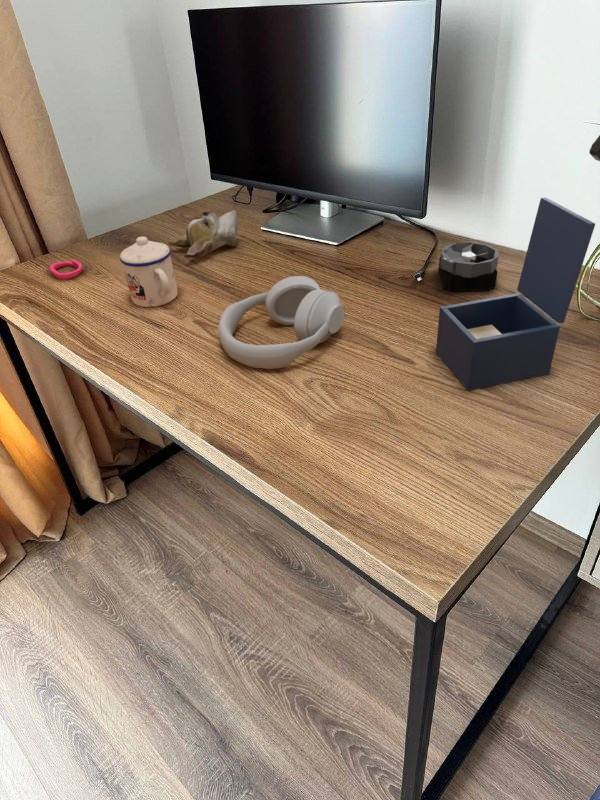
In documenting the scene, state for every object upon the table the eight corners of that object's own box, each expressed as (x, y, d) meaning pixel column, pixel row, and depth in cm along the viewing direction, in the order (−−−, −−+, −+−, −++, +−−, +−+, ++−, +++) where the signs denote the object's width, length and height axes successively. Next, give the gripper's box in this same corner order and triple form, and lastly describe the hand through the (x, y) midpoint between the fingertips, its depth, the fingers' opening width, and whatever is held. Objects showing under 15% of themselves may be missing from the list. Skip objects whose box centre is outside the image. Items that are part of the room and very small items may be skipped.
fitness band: (89, 273, 122) (87, 266, 121) (62, 282, 119) (60, 275, 118) (72, 262, 127) (70, 256, 126) (46, 271, 124) (44, 264, 123)
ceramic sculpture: (245, 208, 121) (178, 230, 116) (252, 248, 127) (188, 270, 121) (223, 196, 129) (160, 216, 124) (231, 234, 134) (170, 254, 129)
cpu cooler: (493, 239, 109) (505, 262, 100) (489, 268, 112) (500, 292, 104) (436, 241, 109) (443, 264, 101) (434, 270, 113) (441, 294, 105)
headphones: (303, 296, 106) (207, 346, 99) (295, 257, 101) (193, 307, 94) (367, 337, 93) (261, 397, 87) (361, 294, 88) (249, 355, 82)
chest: (467, 390, 81) (473, 342, 77) (435, 352, 90) (439, 306, 85) (549, 374, 83) (560, 326, 79) (510, 337, 92) (518, 292, 87)
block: (487, 350, 88) (491, 324, 85) (502, 365, 84) (507, 339, 82) (460, 355, 87) (463, 329, 85) (474, 371, 84) (478, 344, 81)
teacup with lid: (123, 296, 112) (107, 237, 105) (166, 282, 116) (154, 224, 109) (149, 319, 104) (134, 257, 97) (194, 303, 108) (183, 242, 101)
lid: (589, 224, 70) (595, 223, 71) (540, 197, 79) (546, 197, 79) (558, 323, 78) (564, 323, 78) (516, 290, 87) (521, 289, 87)
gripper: (772, 45, 63) (651, 187, 68) (676, 40, 73) (578, 163, 79) (744, -5, 59) (618, 150, 65) (647, -2, 70) (546, 131, 75)
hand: (596, 157), depth 72 cm, fingers closed
